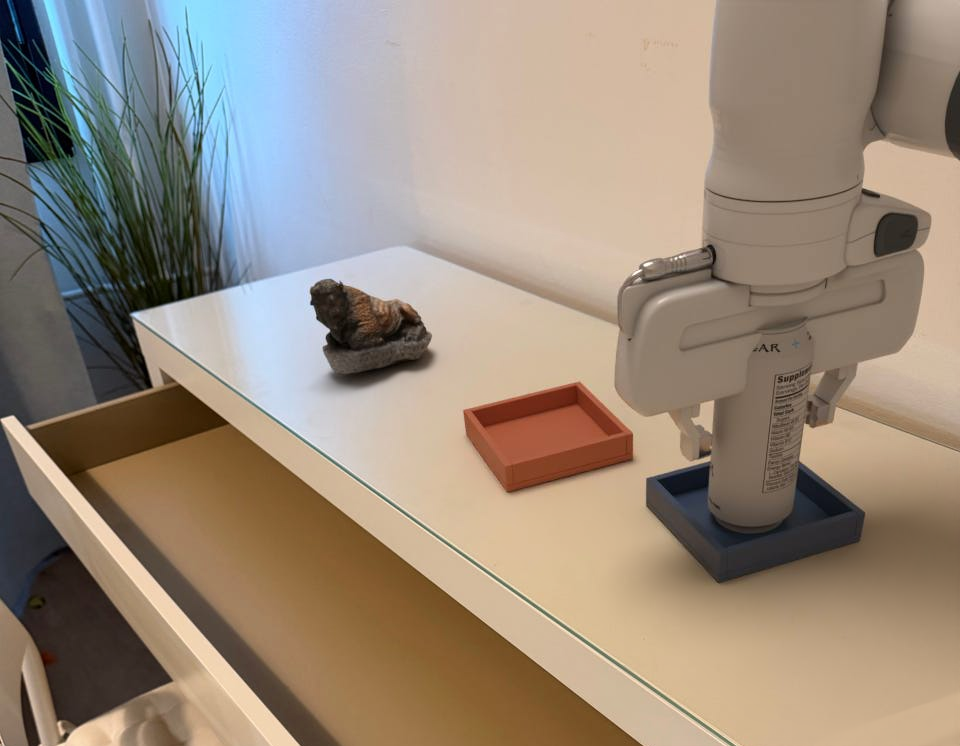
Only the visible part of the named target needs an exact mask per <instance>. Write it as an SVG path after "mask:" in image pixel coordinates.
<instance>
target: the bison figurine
mask: <svg viewBox="0 0 960 746" xmlns="http://www.w3.org/2000/svg"><path fill="white" fill-rule="evenodd" d="M309 294H310V301H309V305H310V306H313V309H314V313H315V315H316V316H315V319H316V321H317V322H319V323H320V324H322V325H323V326H324V327H325V328H327V329H328V330H329V332H328V333H326V335H325V341H326V344H325V345H323V346H322V352H323V355H324V357H325V358H326V360H327V363H328V364H329V366H330V368H331V370H332V371H333V372H334V373H336V374H340V375H351V374H358V373H363V372H367V371H372V370H379V369H383V368H386V367H389V366H392V365H396V364H399V363H402V362H406V361H411V360H412V361H415V360H418V359H419V358H420V357H421V356H422V355H423V354H424V352H425V351H426V350H427V348H429V345H430V343H431V341H432V339H433V334H432V333H431V331H428V330H427V327H426V326H425V323H424V322H423V320H422V317H421V316H420V314H419V312H418V311H417V310H416V309H414V308H413V307H412V305H411V304H409V303H408V302H404V301H402V300H400V299H398V298H394V299H390V300H382V299H380V298H379V297H375V296H372V295H369V294H368V293H367V292H364V291H363V290H360V289H359V288H356V287H354V286H350V285H345V284H344V283H343V282H342V281H341V280H339V282H338V281H336V280H334V279H332V278H325V279H321V280H319V281H317V282H315V284H314V285H313V286H310V288H309Z"/></svg>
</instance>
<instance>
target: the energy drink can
mask: <svg viewBox="0 0 960 746" xmlns="http://www.w3.org/2000/svg"><path fill="white" fill-rule="evenodd" d="M807 320H808V317H807V318H806V319H805V320H797V321H793V322H789V323H785V324H781V325H777V326H773V327H769V328H765V329H762V330H758V329H756V330H755V332H757V333H761V334H762V336H761V339H760V340H759V342H758V344H757V345H756V347H755V348H754V350H753V351H752V353H751V354H750V356H749V358H748V361H747V377H746V385H745V388H744V391H743V392H742V393H740V394H736V395H732V396H728V397H724V398H720V399H716V400H713V413H712V427H711V428H712V429H711V434H712V435H713V437H712V445H711V446H710V448H711V450H712V452H711V455H710V460H709V461H710V473H709V489H708V508H709V509H710V511H711V512H712V513H713V515H714V516H715V519H716V520H717V522H718V523H719V524H720V525H722V526H723V527H725V528H727V529H729V530H732V531H735V532H739V533H748V534H754V533H763V532H767V531H770V530H772V529H774V528H776V527H777V526H779V525H780V524H781V523H782V521H783V519H785V518H786V517H787V516H788V515H789V514H790V513H791V511H792V509H793V503H794V495H795V488H796V480H797V473H798V466H799V461H800V458H801V449H802V442H803V435H804V427H805V423H804V421H805V413H806V406H807V398H808V396H809V392H810V391H809V390H810V383H811V376H812V375H811V369H812V361H813V354H814V346H815V342H814V340H813V338H812V336H811V335H810V333H809V332H808V330H807V329H806V327H805V324H806V322H807Z"/></svg>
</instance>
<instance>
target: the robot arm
mask: <svg viewBox="0 0 960 746" xmlns="http://www.w3.org/2000/svg"><path fill="white" fill-rule="evenodd" d="M709 63H710V64H709V78H708V79H709V81H708V108H709V111H710V115H711V119H712V120H711V121H712V126H713V138H712V139H713V140H712V141H713V142H712V147H711V148H712V149H711V153H710V156H709V159H708V163H707V165H706V166H707V167H706V170H705V173H704V183H703V201H702V202H703V204H702V223H701V224H702V225H701V243H700V248H696V249H691V250H687V251H683V252H681V253H678V254H675V255H672V256H668V257H664V258H663V257H657V258H651V259H649V260H646V261H644V262H642V263H640V264H639V266H638V269H637V270H636V271H634V272H632V273H631V274H630V275H629V276H628V277H627V278H626V279H625V280H624V282H623V283H622V285H621V286H619V289H618V292H617V296H616V297H617V298H616V300H617V301H616V302H617V303H616V311H617V313H616V318H617V325H618V328H619V329H618V334H617V335H618V336H617V343H616V349H615V351H616V352H615V359H614V360H615V361H614V378H613V379H614V381H613V383H614V389H615V393H616V394H617V395H618V396H619V398H620V400H622V401H623V402H624V403H625V404H626V405H627V406H628V407H629V408H631V409H632V410H633V411H635V412H636V413H638V414H639V415H640V416H642V417H645V418H650V417H654V416H657V415H658V416H659V415H662V414H666V413H667V414H668V415H669V416H670V418H671V420H672V421H673V423H674V424H675V426H676V427H677V429H678V430H679V431H680V435H679V436H680V437H679V451H680V452H681V455H682V456H683V457H684V458H685V459H686V460H687V461H689V462H693V461H697V460H702V459H705V458H709V457H711V452H712V450H711V445H712V437H713V435H712V432H711V433H710V432H709V431H708V430H705V427H704V426H702V424H695V423H694V421H693V420H692V419H695V418H698V417H699V416H700V412H701V404H704V403H708V402H712V401H714V400H716V399H720V398H724V397H728V396H732V395H736V394H740V393H742V392H743V391H744V388H745V385H746V377H747V361H748V358H749V356H750V354H751V353H752V351H753V350H754V348H755V347H756V345H757V344H758V342H759V340H760V339H761V336H762V334H761V333H757V332H755V330H756V329H758V330H762V329H765V328H769V327H773V326H777V325H781V324H785V323H789V322H793V321H797V320H805V319H806V318H807V317H808V320H807V322H806V324H805V327H806V329H807V330H808V332H809V333H810V335H811V336H812V338H813V340H814V342H815V346H814V354H813V361H812V369H811V376H813V375H816V374H821V373H824V374H822V377H821V378H820V380H819V382H818V384H817V386H816V388H815V390H814V392H813V394H810V395H809V394H808V398H807V406H806V413H805V421H804V425H805V424H806V425H808V428H811V429H815V428H819V427H823V426H827V425H830V424H833V423H834V422H835V421H834V420H835V414H836V408H837V403H838V402H839V401H840V400H841V398H842V397H843V395H844V394H845V393H846V391H847V390H848V388H849V387H850V386H851V384H852V382H853V381H854V380H855V378H856V376H857V371H858V364H860V363H865V362H867V361H872V360H875V359H879V358H883V357H887V356H891V355H894V354H897V353H899V352H900V351H901V350H902V349H903V348H904V347H905V346H906V344H907V343H908V341H909V340H910V339H911V338H912V336H913V334H914V331H915V329H916V325H917V321H918V316H919V311H920V306H921V301H922V294H923V288H924V278H925V262H924V258H923V256H922V254H921V252H920V251H919V250H918V249H920V248H921V247H923V246H924V245H925V243H926V242H927V240H928V238H929V235H930V231H931V227H932V215H931V213H930V212H928V211H926V210H924V209H922V208H920V207H919V206H916V205H914V204H912V203H909V202H907V201H905V200H902V199H899V198H897V197H894V196H891V195H888V194H884V193H881V192H878V191H875V190H871V189H867V188H863V184H864V177H865V169H866V168H865V165H866V164H865V158H864V157H865V156H864V152H865V150H866V148H867V147H868V146H869V145H871V144H872V143H875V142H878V141H882V142H886V143H890V144H892V145H894V146H896V147H899V148H904V149H908V150H914V151H919V152H924V153H927V154H932V155H937V156H942V157H947V158H951V159H956V160H958V161H959V162H960V0H715V7H714V17H713V26H712V37H711V47H710V62H709ZM639 278H640V279H639Z"/></svg>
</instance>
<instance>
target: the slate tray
mask: <svg viewBox="0 0 960 746" xmlns="http://www.w3.org/2000/svg"><path fill="white" fill-rule="evenodd" d="M709 473H710V460H708V461H706V462H702V463H698V464H694V465H690V466H687V467H683V468H680V469H675V470H672V471H668V472H664V473H661V474H660V473H659V474H657V475H654V476H653V475H652V476H649V477H646V478H645V506H647V508H648V509H649V510H650V511H651V512H652V513H653V514H654V515H655V517H657V518H658V519H659V521H661V523H662V524H663V525H664V526H665V527H666V528H667V529H668V530H669V531H670V532H671V533H672V534H673V536H674V537H675V538H676V539H677V540H678V541H679V542H680V543H681V544H682V546H684V547H685V548H686V549H687V551H688V552H689V553H690V554H691V555H692V556H693V557H694V559H696V560H697V562H698V563H699V564H700V565H701V566H702V567H703V568H704V569H705V570H706V571H707V573H709V575H710V576H711V577H713V579H714V580H715V581H716V582H717V583H722V582H726V581H730V580H732V579H737V578H740V577H743V576H746V575H749V574H753V573H757V572H760V571H763V570H766V569H769V568H770V569H771V568H773V567H776V566H780V565H783V564H786V563H790V562H793V561H796V560H800V559H803V558H807V557H810V556H814V555H817V554H820V553H824V552H828V551H830V550H834V549H837V548H841V547H844V546H847V545H848V546H849V545H851V544H854V543H859V542H860V541H861V538H862V533H863V528H864V523H865V517H866V512H865V511H864V509H862V508H861V507H859V506H858V505H857V504H855V503H854V502H853V501H851V500H850V499H849V498H847V497H846V496H845V495H844V494H843V493H841V492H840V491H839V490H837V489H836V488H835V487H834V486H833V485H831V484H830V483H829V482H827V481H826V480H825V479H823V478H822V477H820V475H818V474H817V473H815V471H813V470H812V469H811V468H810V467H808V466H807V465H805V464H804V463H803V462H801V461H800V460H799V466H798V473H797V480H796V488H795V495H794V503H793V509H792V511H791V513H790V514H789V515H788V516H787V517H786V518H785V519H783V521H782V523H781V524H780V525H779V526H777V527H776V528H774V529H772V530H770V531H767V532H763V533H754V534H748V533H739V532H735V531H732V530H729V529H727V528H725V527H723V526H722V525H720V524H719V523H718V522H717V520H716V519H715V516H714V515H713V513H712V512H711V511H710V509H709V508H708V489H709Z"/></svg>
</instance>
